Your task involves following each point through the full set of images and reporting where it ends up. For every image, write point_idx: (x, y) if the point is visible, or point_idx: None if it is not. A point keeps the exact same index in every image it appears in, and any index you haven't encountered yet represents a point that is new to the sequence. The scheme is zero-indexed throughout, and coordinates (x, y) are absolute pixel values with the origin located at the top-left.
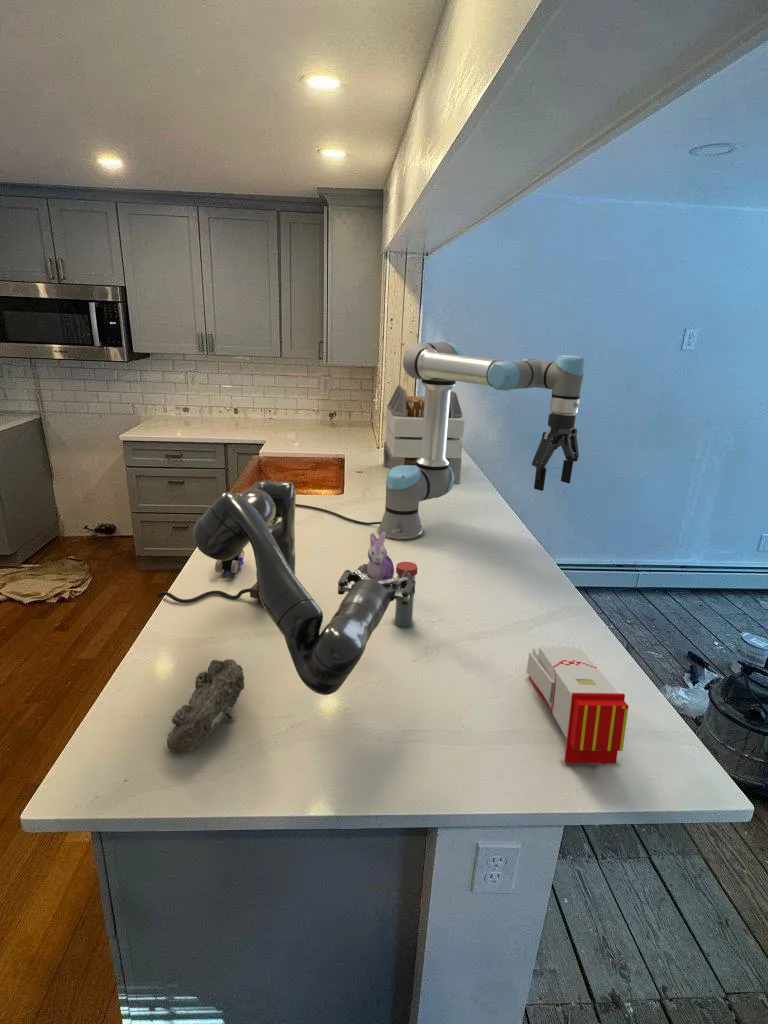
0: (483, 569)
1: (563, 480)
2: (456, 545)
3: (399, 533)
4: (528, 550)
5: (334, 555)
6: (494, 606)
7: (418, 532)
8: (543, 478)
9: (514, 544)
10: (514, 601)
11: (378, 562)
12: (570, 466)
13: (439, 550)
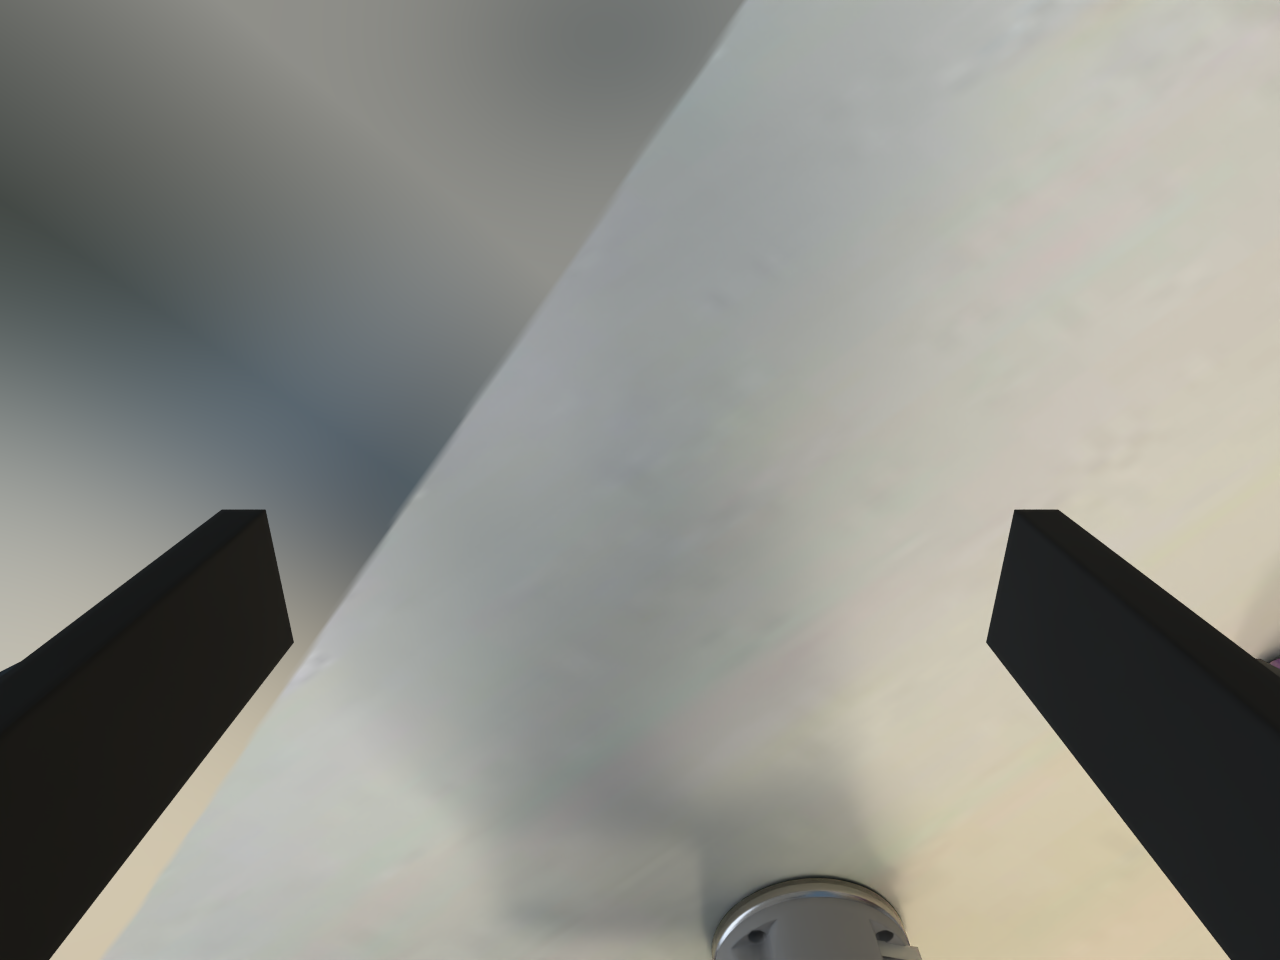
0: (848, 515)
1: (272, 613)
2: (718, 749)
3: (892, 929)
4: (448, 526)
5: None
6: (1189, 215)
7: (799, 902)
8: (1214, 634)
9: (452, 612)
10: (1064, 182)
11: None
12: (35, 728)
13: (830, 753)
